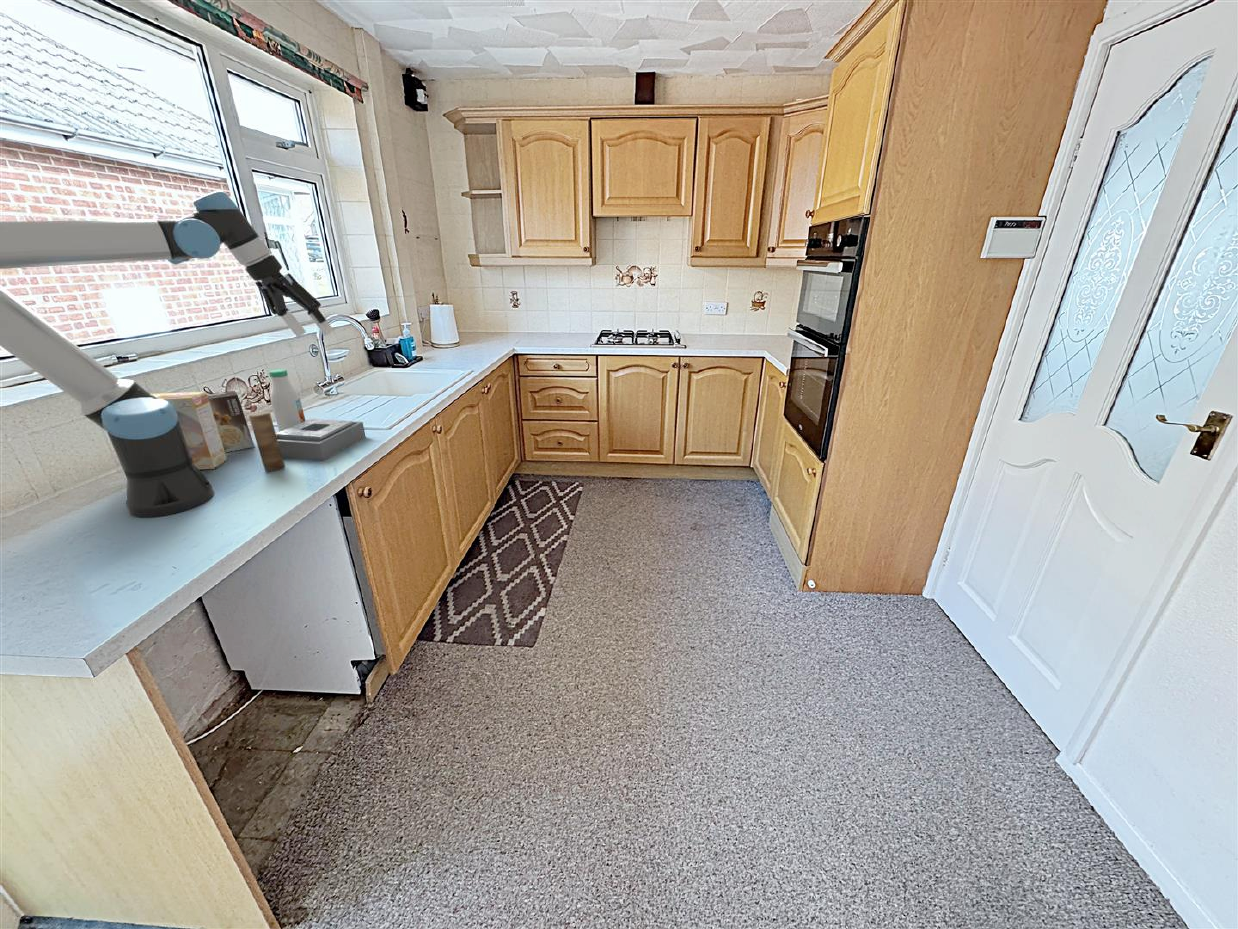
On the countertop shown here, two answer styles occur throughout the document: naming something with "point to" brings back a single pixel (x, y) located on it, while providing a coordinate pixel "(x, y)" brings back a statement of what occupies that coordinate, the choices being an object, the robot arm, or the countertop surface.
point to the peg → (267, 441)
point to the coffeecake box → (197, 427)
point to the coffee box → (230, 421)
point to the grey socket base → (322, 444)
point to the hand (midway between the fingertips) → (315, 333)
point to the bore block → (313, 430)
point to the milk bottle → (285, 401)
